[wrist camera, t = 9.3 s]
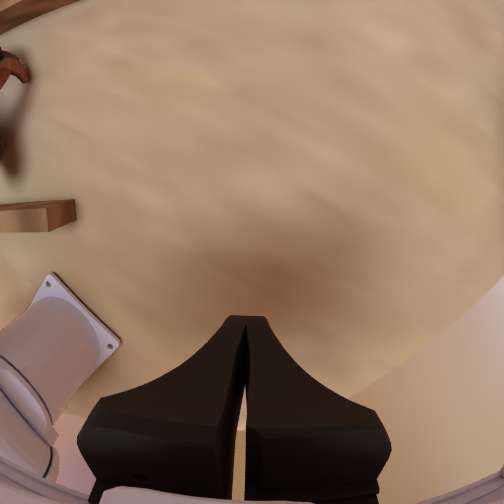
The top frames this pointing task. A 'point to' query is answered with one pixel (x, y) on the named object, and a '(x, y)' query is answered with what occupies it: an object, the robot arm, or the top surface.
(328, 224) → the top surface
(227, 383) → the robot arm
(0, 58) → the brown ring with stem
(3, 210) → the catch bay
